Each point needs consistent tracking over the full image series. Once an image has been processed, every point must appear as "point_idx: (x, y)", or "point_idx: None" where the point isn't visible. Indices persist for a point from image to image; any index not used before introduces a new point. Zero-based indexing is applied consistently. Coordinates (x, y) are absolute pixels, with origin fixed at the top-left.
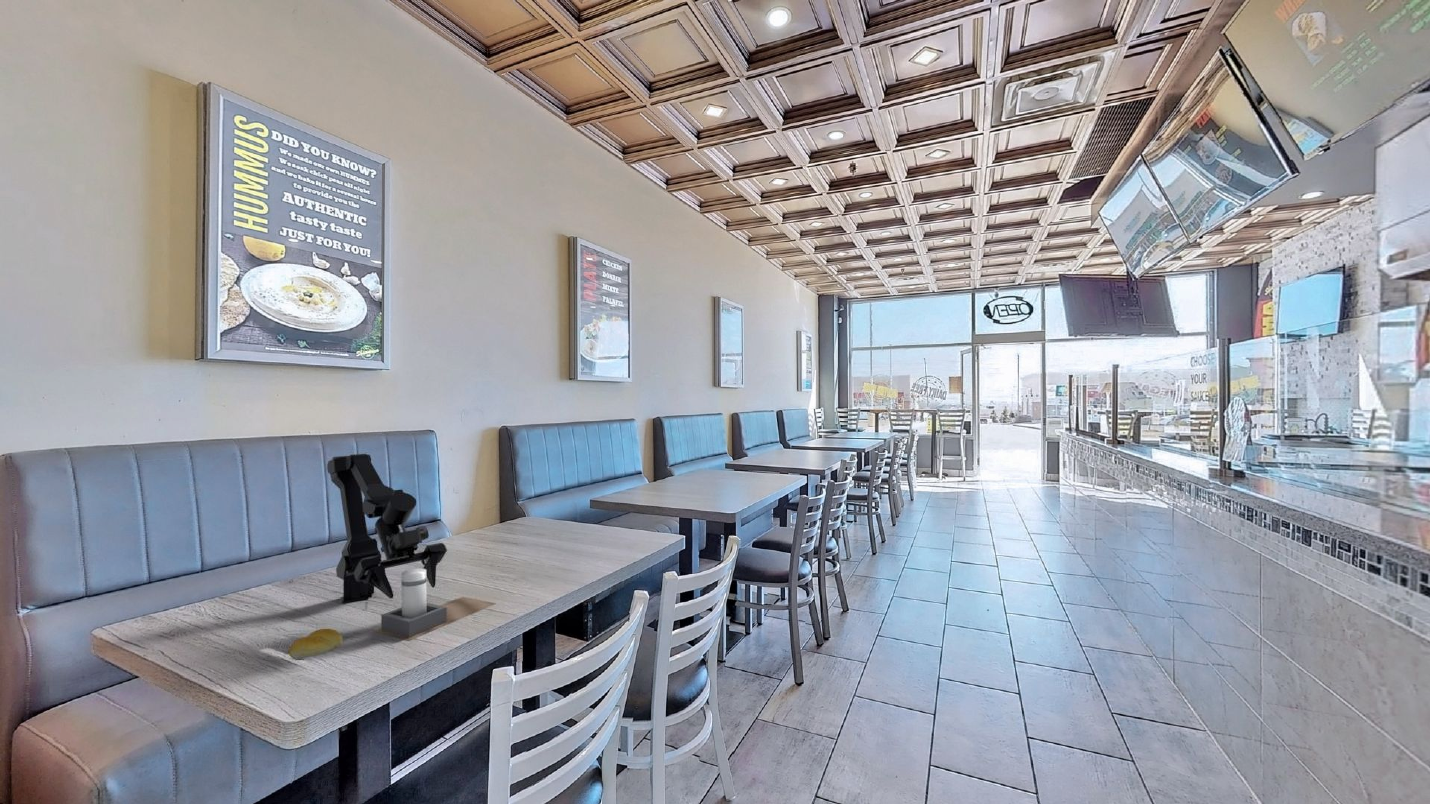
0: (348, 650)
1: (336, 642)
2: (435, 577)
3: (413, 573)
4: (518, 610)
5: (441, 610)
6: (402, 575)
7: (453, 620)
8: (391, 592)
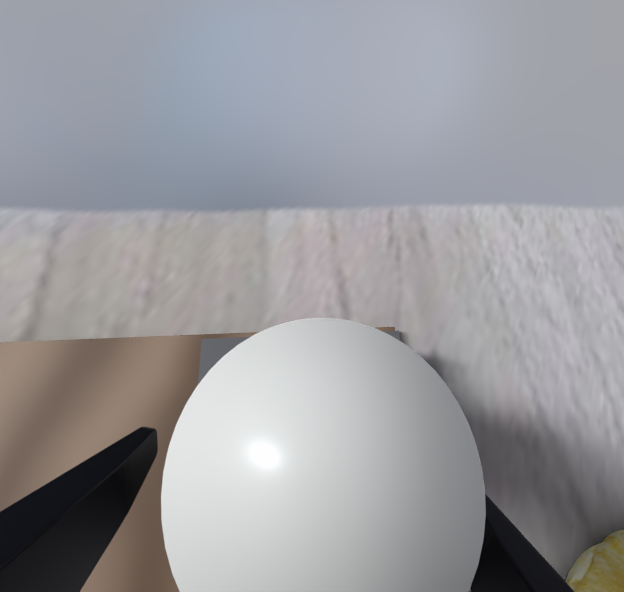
0: (549, 490)
1: (615, 557)
2: (82, 462)
3: (372, 401)
4: (15, 245)
5: (232, 339)
6: (479, 498)
7: (195, 345)
8: (493, 511)
